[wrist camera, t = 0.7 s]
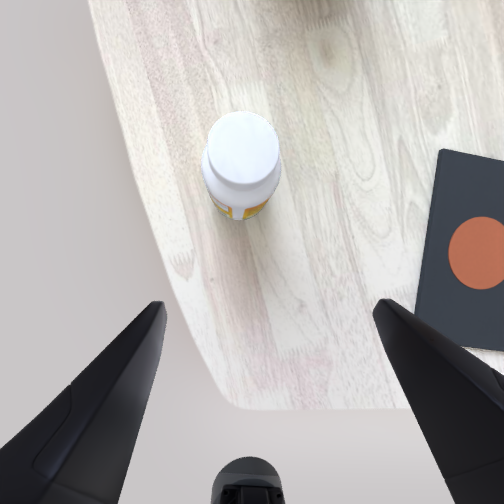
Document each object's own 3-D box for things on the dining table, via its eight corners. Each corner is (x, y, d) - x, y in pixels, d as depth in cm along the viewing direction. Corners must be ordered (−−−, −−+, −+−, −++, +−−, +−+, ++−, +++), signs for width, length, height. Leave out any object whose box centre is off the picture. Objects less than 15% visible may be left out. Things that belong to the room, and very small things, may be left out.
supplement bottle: (269, 168, 22) (297, 103, 12) (263, 223, 22) (289, 202, 12) (213, 161, 21) (197, 89, 12) (208, 217, 21) (188, 191, 12)
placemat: (542, 355, 25) (550, 357, 24) (410, 338, 23) (415, 340, 23) (569, 177, 25) (578, 175, 24) (438, 150, 23) (444, 147, 23)
